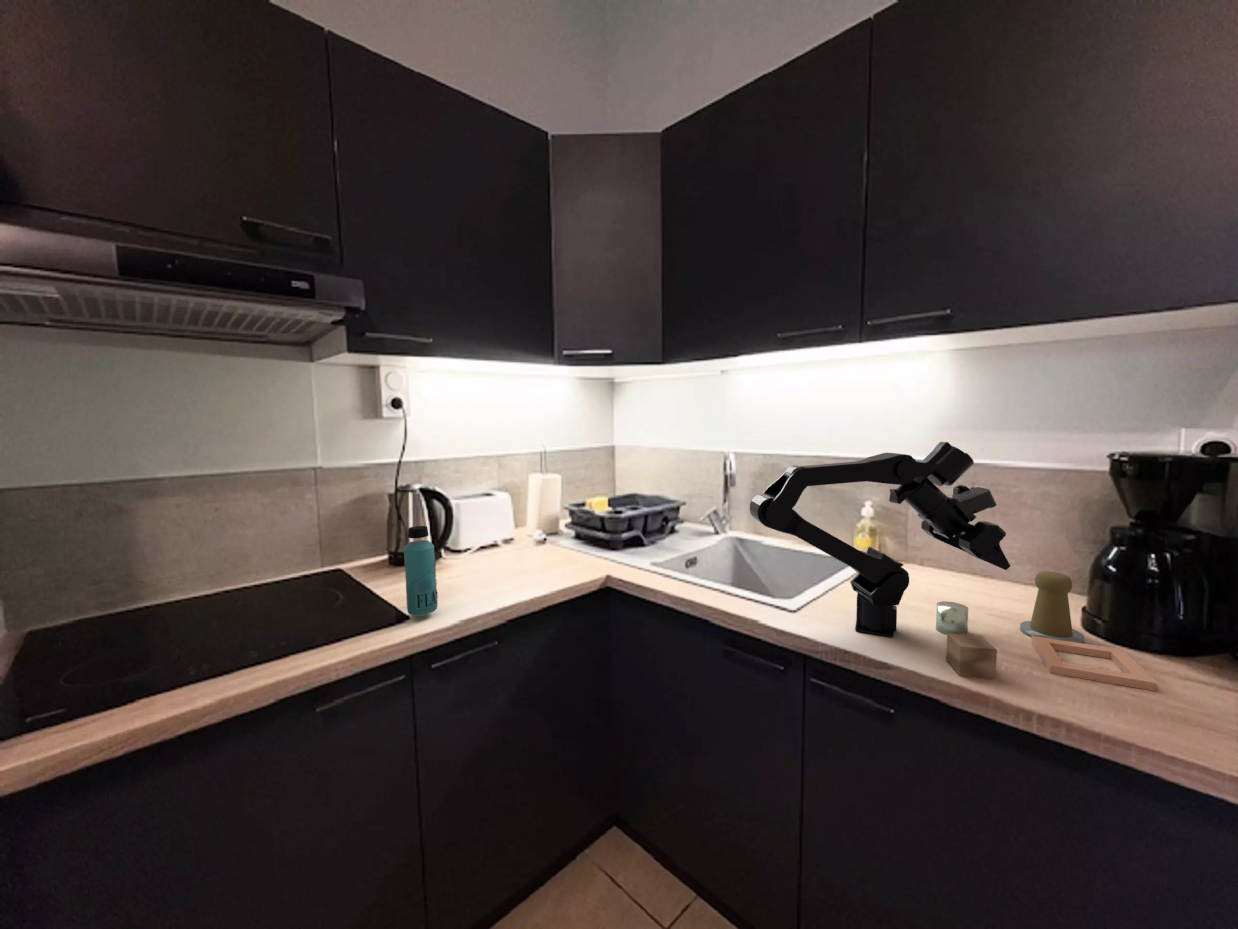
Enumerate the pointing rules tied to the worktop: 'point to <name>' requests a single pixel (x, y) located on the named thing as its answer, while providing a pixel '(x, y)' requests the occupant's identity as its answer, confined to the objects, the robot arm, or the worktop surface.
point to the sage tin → (951, 618)
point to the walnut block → (971, 656)
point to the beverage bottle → (420, 573)
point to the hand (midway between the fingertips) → (991, 560)
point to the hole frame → (1129, 676)
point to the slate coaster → (1028, 631)
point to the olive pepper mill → (1052, 605)
